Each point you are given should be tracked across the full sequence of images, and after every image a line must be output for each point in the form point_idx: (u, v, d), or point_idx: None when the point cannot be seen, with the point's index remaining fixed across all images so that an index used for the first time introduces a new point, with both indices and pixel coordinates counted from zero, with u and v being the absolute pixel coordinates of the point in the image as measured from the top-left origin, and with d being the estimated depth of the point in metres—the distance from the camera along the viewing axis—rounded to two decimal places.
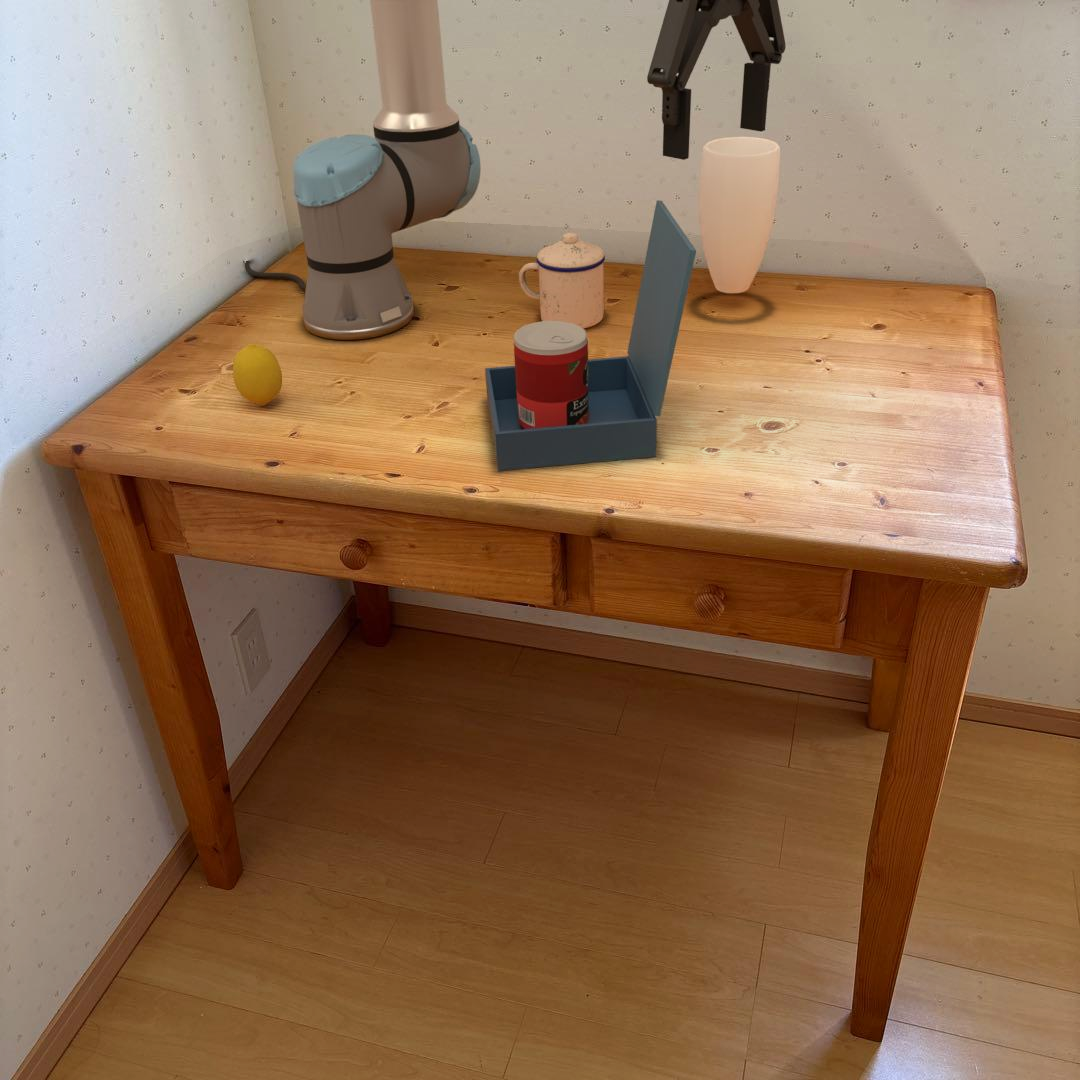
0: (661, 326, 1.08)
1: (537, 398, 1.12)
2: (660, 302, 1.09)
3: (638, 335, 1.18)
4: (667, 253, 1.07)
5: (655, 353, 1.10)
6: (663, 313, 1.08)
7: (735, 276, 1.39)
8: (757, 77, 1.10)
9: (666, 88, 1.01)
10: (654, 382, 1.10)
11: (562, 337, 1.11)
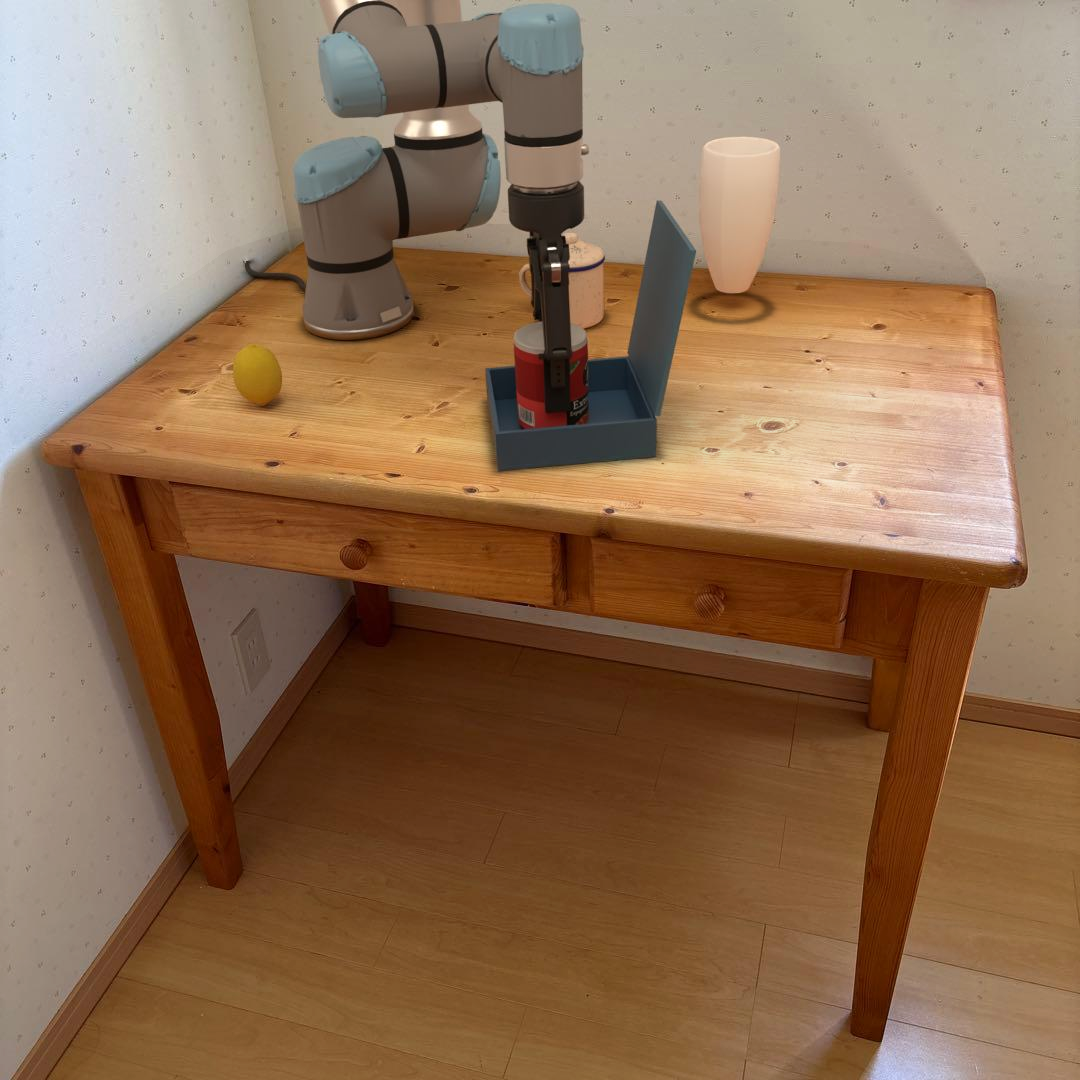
0: (661, 326, 1.08)
1: (537, 398, 1.12)
2: (660, 302, 1.09)
3: (638, 335, 1.18)
4: (667, 253, 1.07)
5: (655, 353, 1.10)
6: (663, 313, 1.08)
7: (735, 276, 1.39)
8: None
9: None
10: (654, 382, 1.10)
11: None
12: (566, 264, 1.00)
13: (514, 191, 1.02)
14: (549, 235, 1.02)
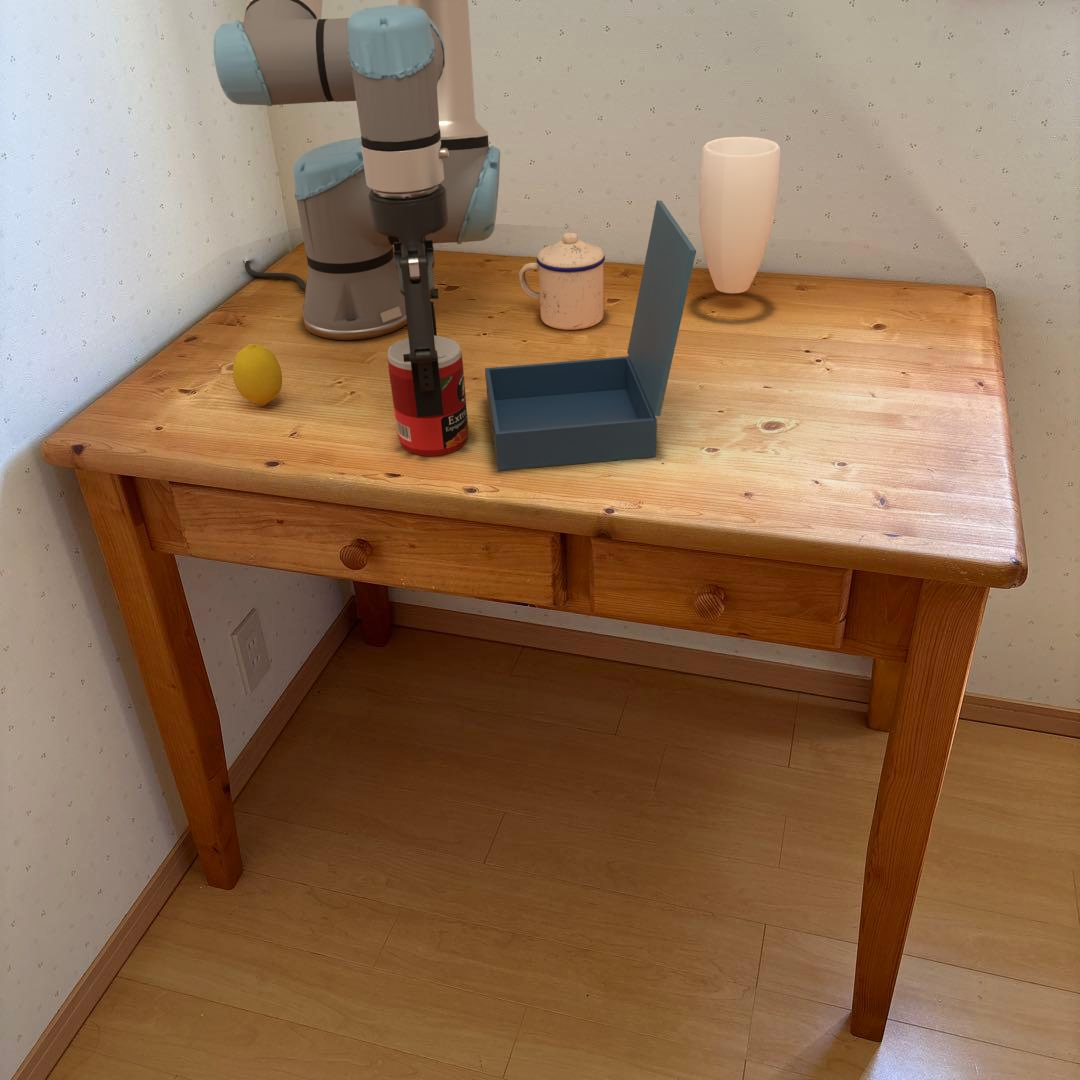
0: (661, 326, 1.08)
1: (411, 413, 1.11)
2: (660, 302, 1.09)
3: (638, 335, 1.18)
4: (667, 253, 1.07)
5: (655, 353, 1.10)
6: (663, 313, 1.08)
7: (735, 276, 1.39)
8: None
9: (424, 361, 1.02)
10: (654, 382, 1.10)
11: None
12: (424, 258, 0.99)
13: (373, 195, 1.00)
14: (409, 240, 1.00)
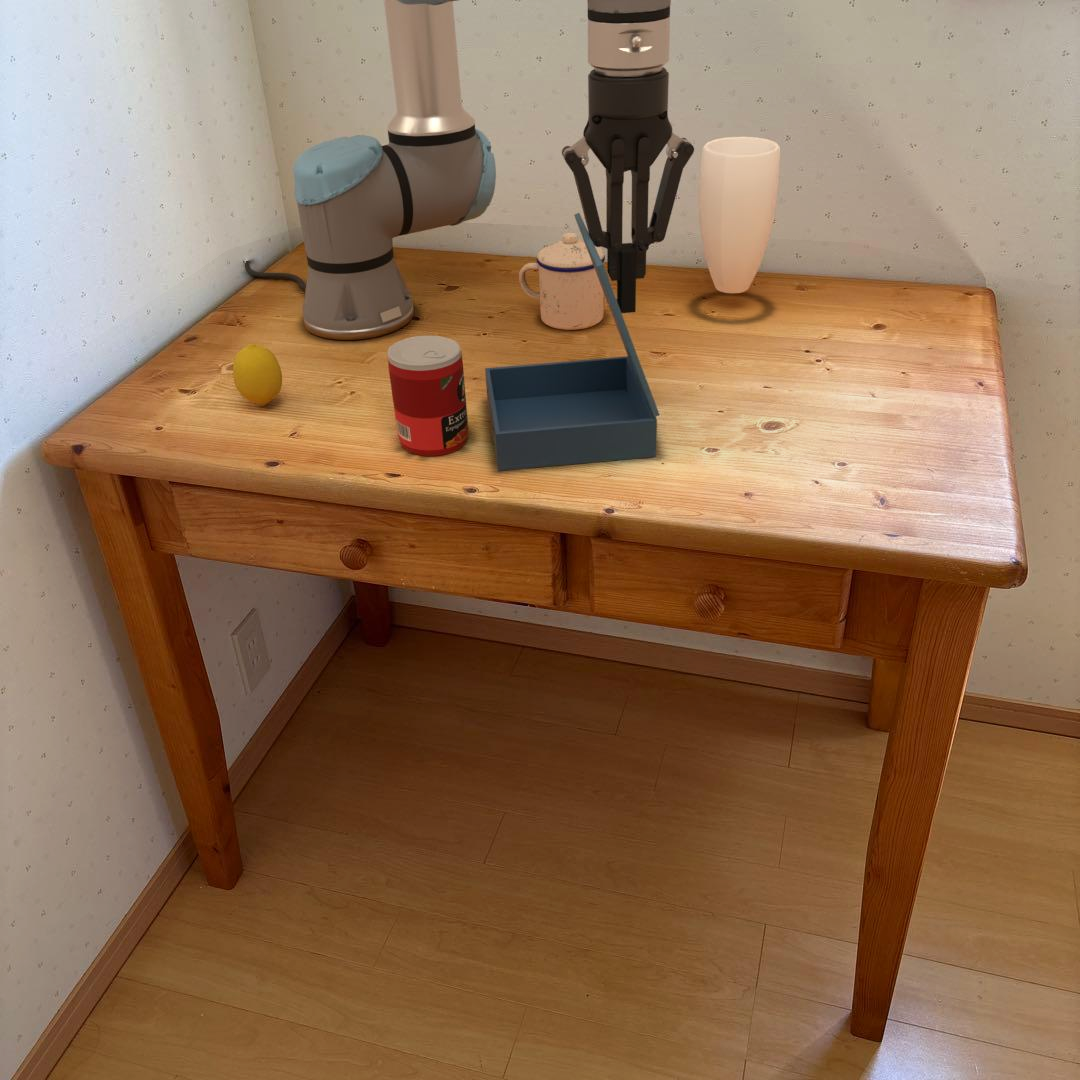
0: (621, 334, 1.08)
1: (411, 413, 1.11)
2: None
3: None
4: None
5: (631, 359, 1.10)
6: None
7: (735, 276, 1.39)
8: None
9: None
10: None
11: (436, 352, 1.11)
12: (565, 156, 1.00)
13: None
14: None
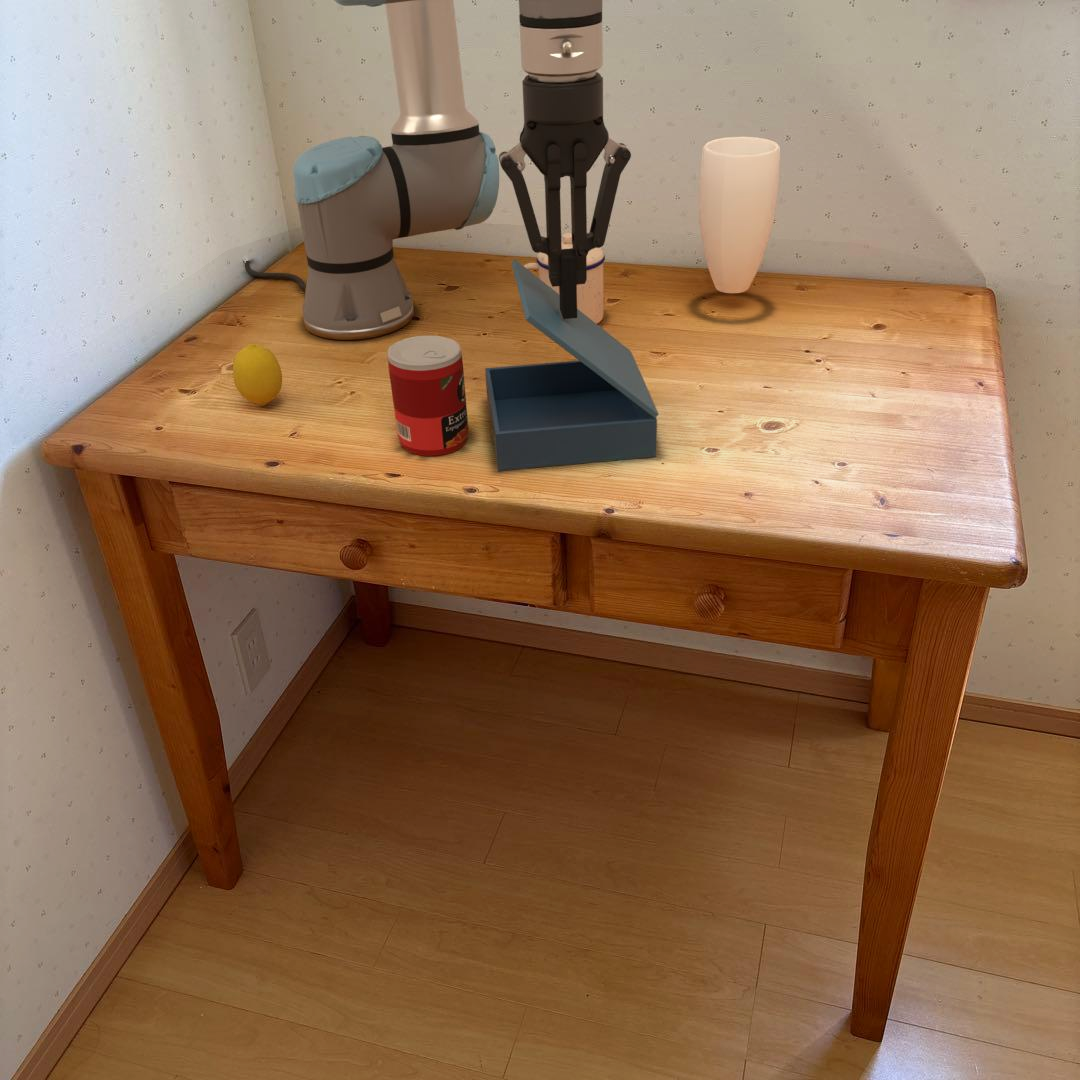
0: None
1: (411, 413, 1.11)
2: None
3: None
4: None
5: None
6: None
7: (735, 276, 1.39)
8: None
9: None
10: None
11: (436, 352, 1.11)
12: (500, 162, 1.00)
13: None
14: (524, 120, 0.99)
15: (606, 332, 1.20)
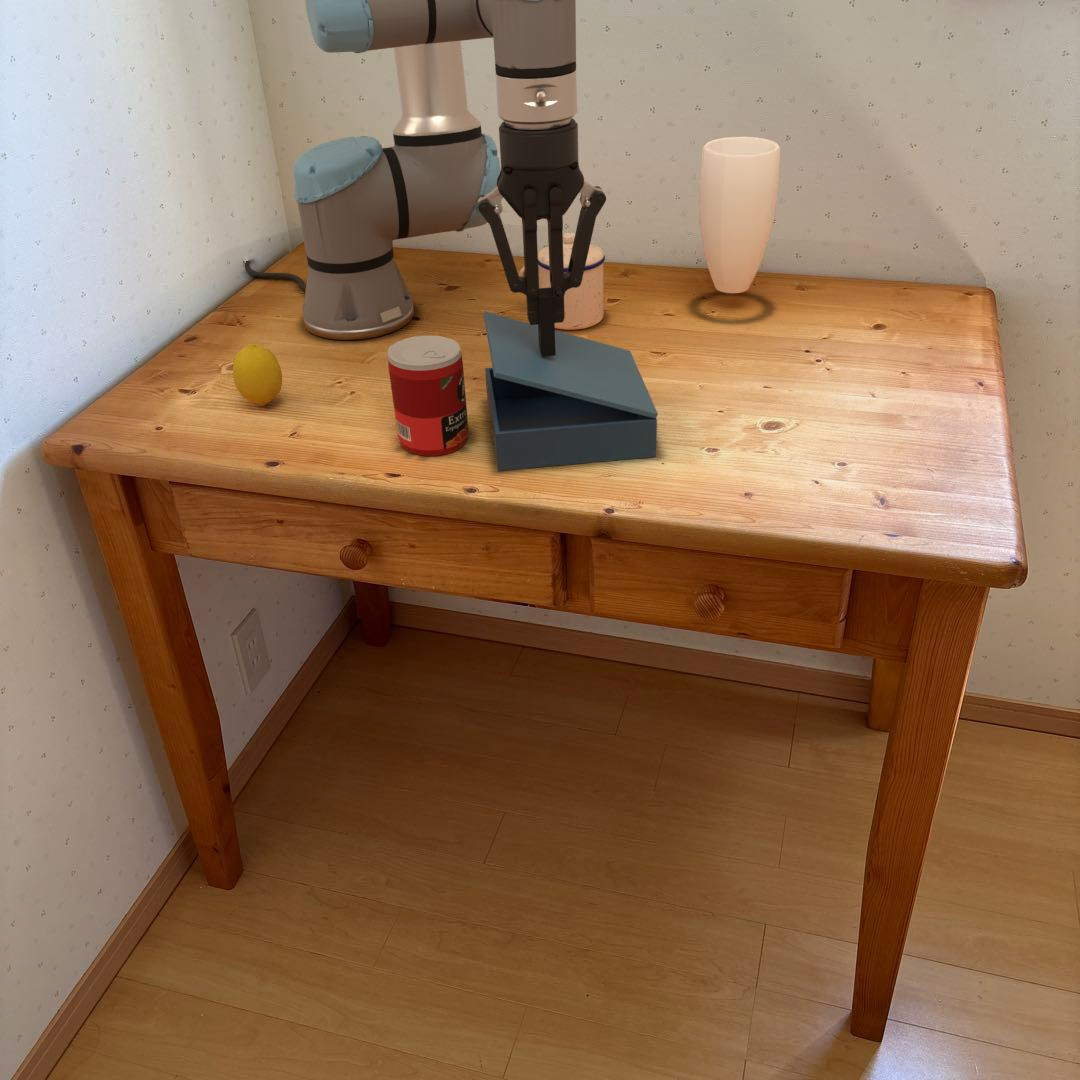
0: None
1: (411, 413, 1.11)
2: None
3: None
4: None
5: None
6: None
7: (735, 276, 1.39)
8: None
9: None
10: None
11: (436, 352, 1.11)
12: (478, 205, 1.02)
13: None
14: (501, 165, 1.01)
15: (598, 343, 1.21)
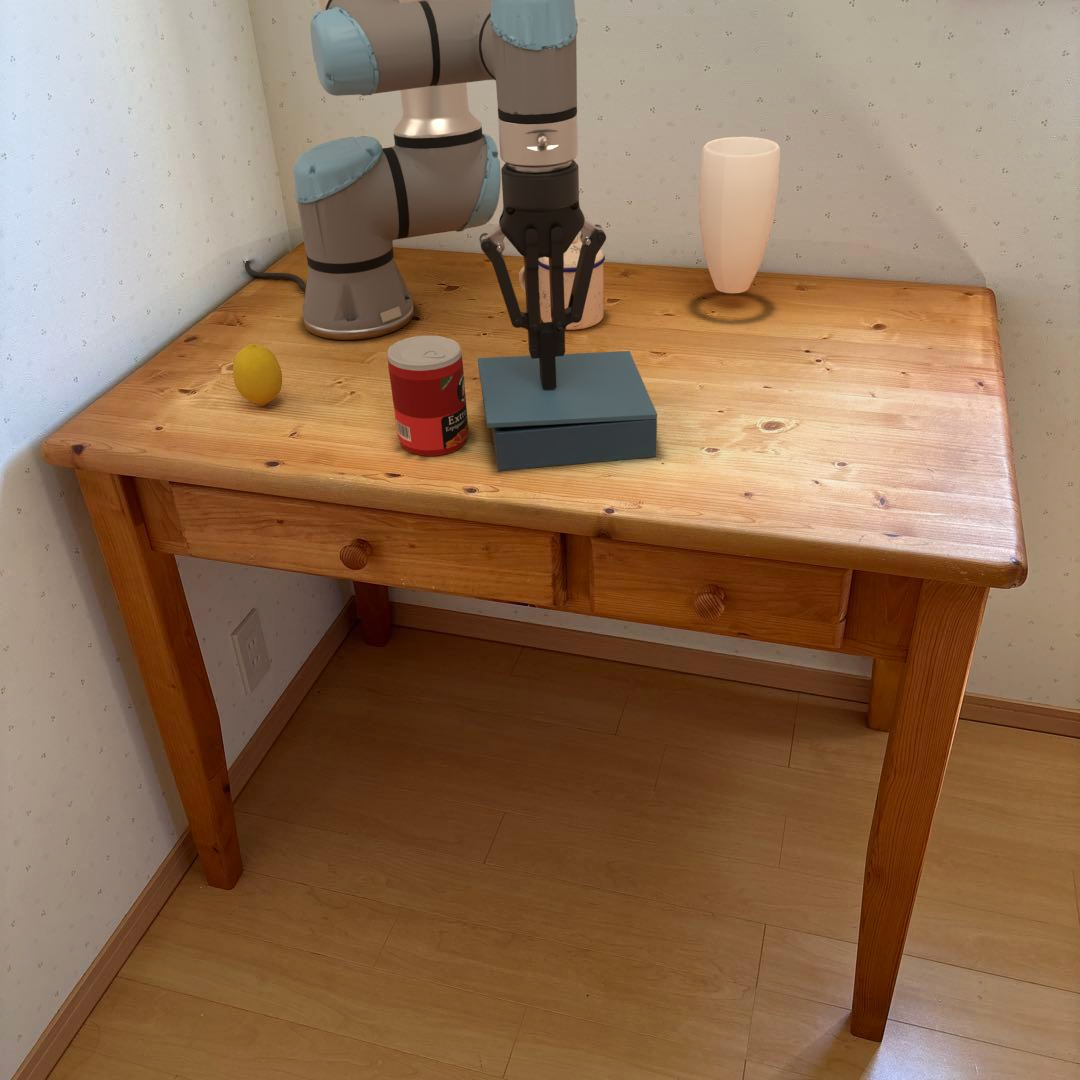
0: None
1: (411, 413, 1.11)
2: None
3: None
4: None
5: None
6: None
7: (735, 276, 1.39)
8: None
9: None
10: None
11: (436, 352, 1.11)
12: (481, 244, 1.04)
13: None
14: (503, 205, 1.03)
15: (595, 353, 1.22)
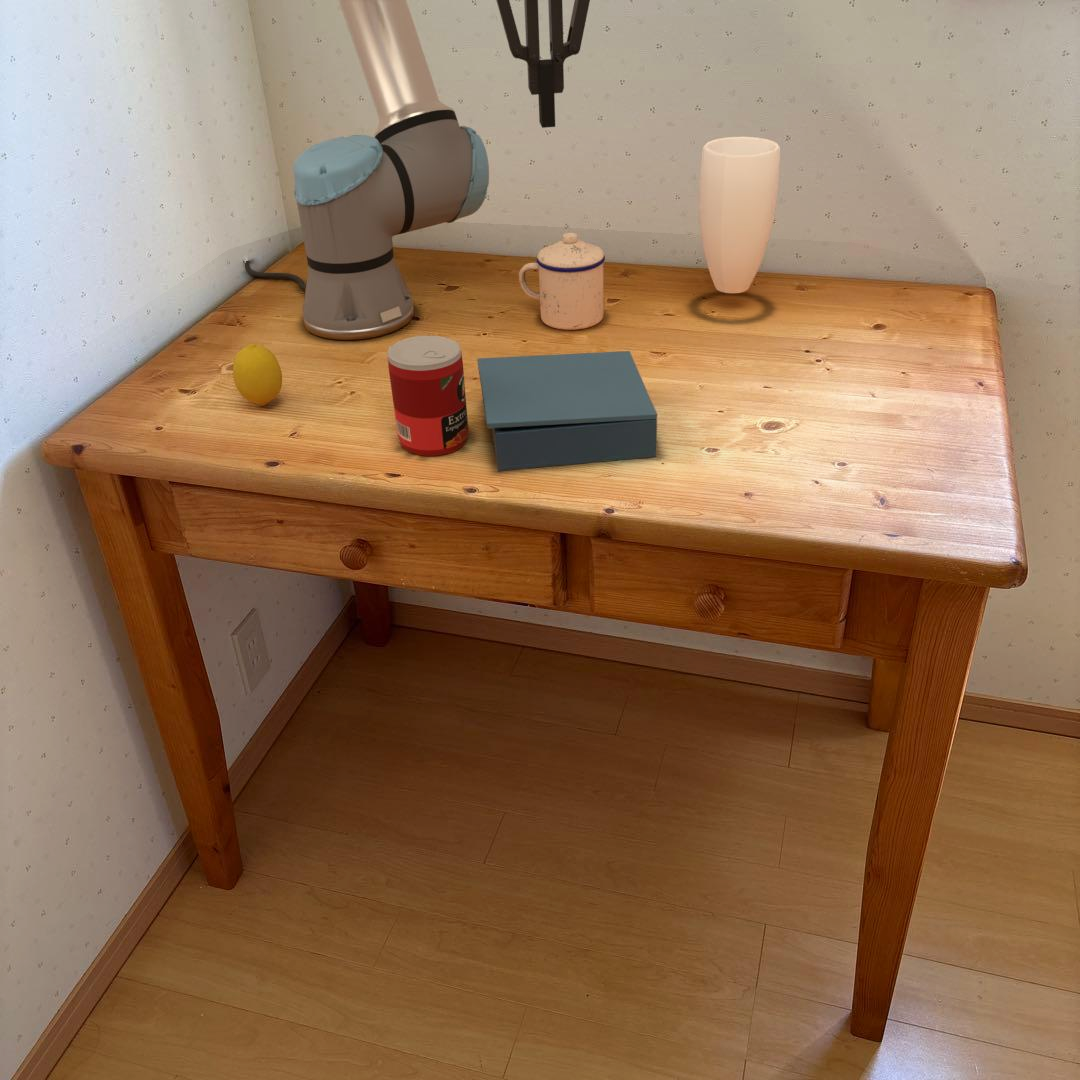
0: None
1: (411, 413, 1.11)
2: None
3: None
4: None
5: None
6: None
7: (735, 276, 1.39)
8: None
9: None
10: None
11: (436, 352, 1.11)
12: None
13: None
14: None
15: (595, 353, 1.22)
